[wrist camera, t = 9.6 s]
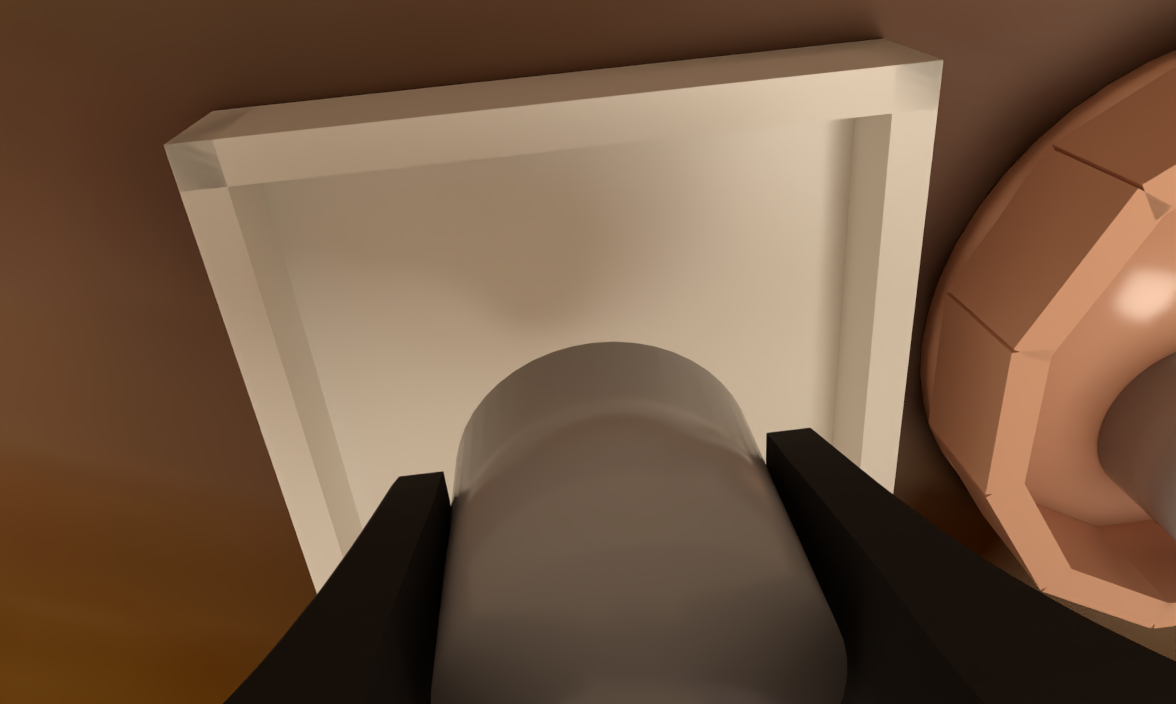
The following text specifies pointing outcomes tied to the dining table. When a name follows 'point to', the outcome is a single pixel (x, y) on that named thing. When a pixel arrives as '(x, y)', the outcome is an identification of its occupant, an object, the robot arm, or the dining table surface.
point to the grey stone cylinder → (1145, 442)
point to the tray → (564, 252)
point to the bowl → (1064, 344)
